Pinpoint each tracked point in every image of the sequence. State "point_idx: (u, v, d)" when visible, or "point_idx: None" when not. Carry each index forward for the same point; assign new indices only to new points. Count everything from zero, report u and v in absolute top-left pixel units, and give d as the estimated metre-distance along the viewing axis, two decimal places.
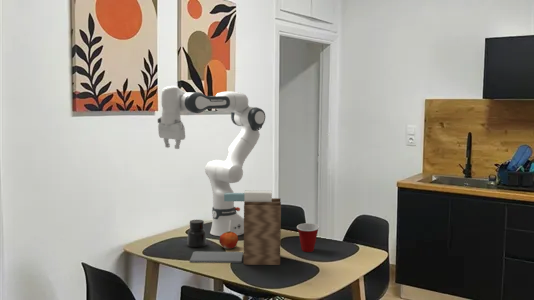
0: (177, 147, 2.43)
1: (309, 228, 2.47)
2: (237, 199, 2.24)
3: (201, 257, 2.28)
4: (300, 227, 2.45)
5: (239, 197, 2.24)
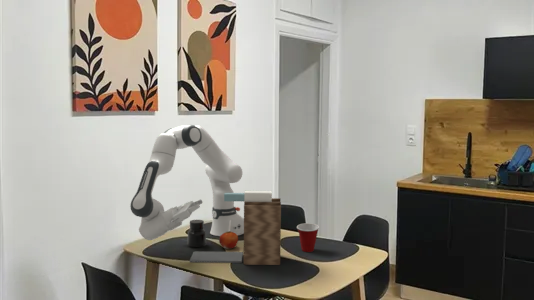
0: (197, 206, 2.21)
1: (309, 228, 2.47)
2: (237, 199, 2.24)
3: (201, 257, 2.28)
4: (300, 227, 2.45)
5: (239, 197, 2.24)
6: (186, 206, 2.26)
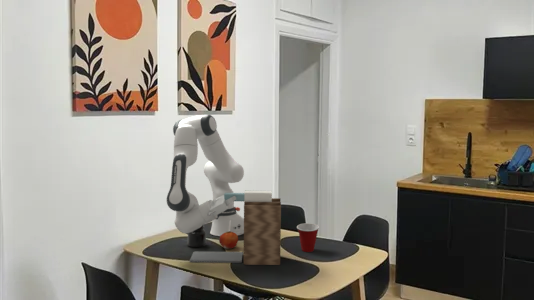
0: (234, 198, 2.23)
1: (309, 228, 2.47)
2: (237, 199, 2.24)
3: (201, 257, 2.28)
4: (300, 227, 2.45)
5: (239, 197, 2.24)
6: (222, 199, 2.25)
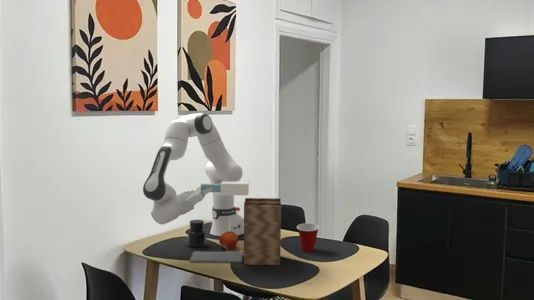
0: (210, 189, 2.22)
1: (309, 228, 2.47)
2: (213, 190, 2.24)
3: (201, 257, 2.28)
4: (300, 227, 2.45)
5: (216, 188, 2.24)
6: (198, 190, 2.25)
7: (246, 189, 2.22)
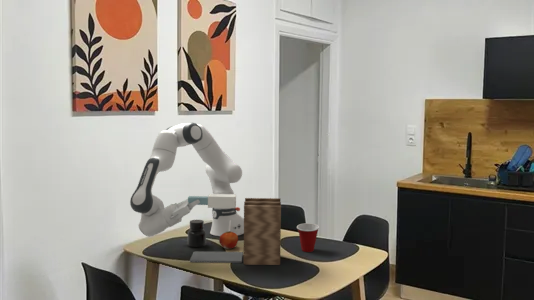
0: (198, 202, 2.23)
1: (309, 228, 2.47)
2: (201, 202, 2.25)
3: (201, 257, 2.28)
4: (300, 227, 2.45)
5: (203, 201, 2.24)
6: (186, 202, 2.25)
7: (233, 202, 2.23)
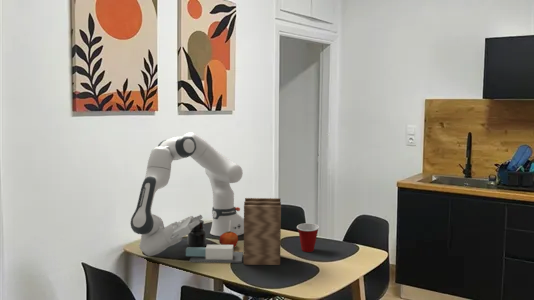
0: (197, 222, 2.22)
1: (309, 228, 2.47)
2: (198, 254, 2.27)
3: (201, 257, 2.28)
4: (300, 227, 2.45)
5: (201, 252, 2.27)
6: (186, 222, 2.26)
7: (230, 253, 2.26)
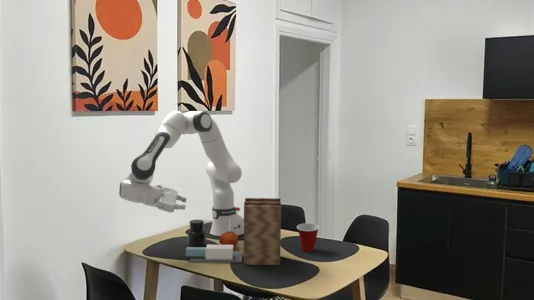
0: (183, 208, 2.24)
1: (309, 228, 2.47)
2: (198, 254, 2.27)
3: (201, 257, 2.28)
4: (300, 227, 2.45)
5: (201, 252, 2.27)
6: (173, 197, 2.27)
7: (230, 253, 2.26)
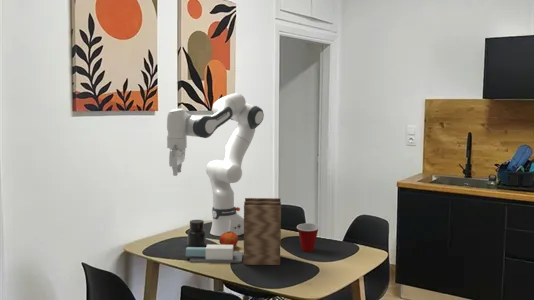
0: (174, 174, 2.29)
1: (309, 228, 2.47)
2: (198, 254, 2.27)
3: (201, 257, 2.28)
4: (300, 227, 2.45)
5: (201, 252, 2.27)
6: (180, 161, 2.33)
7: (230, 253, 2.26)
